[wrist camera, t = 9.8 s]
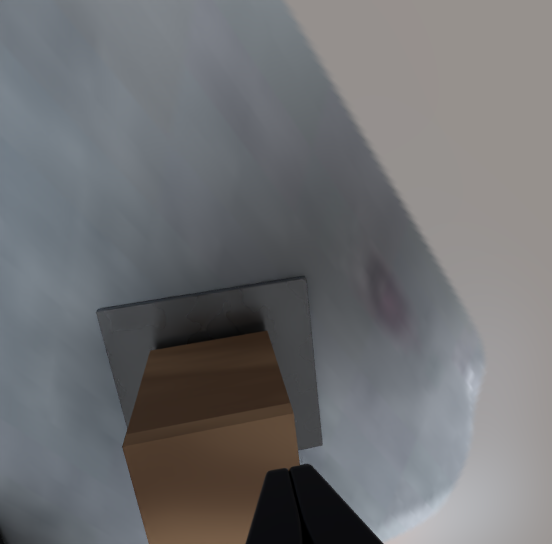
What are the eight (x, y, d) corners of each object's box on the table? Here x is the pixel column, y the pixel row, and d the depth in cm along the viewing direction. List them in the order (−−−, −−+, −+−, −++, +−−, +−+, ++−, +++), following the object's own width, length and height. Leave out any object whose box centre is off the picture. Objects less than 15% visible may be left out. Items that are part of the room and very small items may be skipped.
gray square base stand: (320, 440, 24) (364, 554, 17) (143, 477, 23) (115, 614, 16) (304, 276, 21) (349, 336, 14) (98, 309, 19) (41, 392, 13)
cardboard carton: (279, 426, 22) (308, 538, 16) (172, 447, 21) (157, 573, 15) (267, 330, 20) (293, 413, 14) (150, 350, 19) (122, 446, 13)
